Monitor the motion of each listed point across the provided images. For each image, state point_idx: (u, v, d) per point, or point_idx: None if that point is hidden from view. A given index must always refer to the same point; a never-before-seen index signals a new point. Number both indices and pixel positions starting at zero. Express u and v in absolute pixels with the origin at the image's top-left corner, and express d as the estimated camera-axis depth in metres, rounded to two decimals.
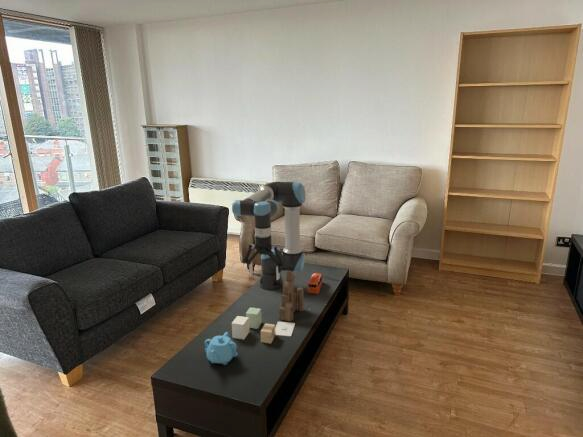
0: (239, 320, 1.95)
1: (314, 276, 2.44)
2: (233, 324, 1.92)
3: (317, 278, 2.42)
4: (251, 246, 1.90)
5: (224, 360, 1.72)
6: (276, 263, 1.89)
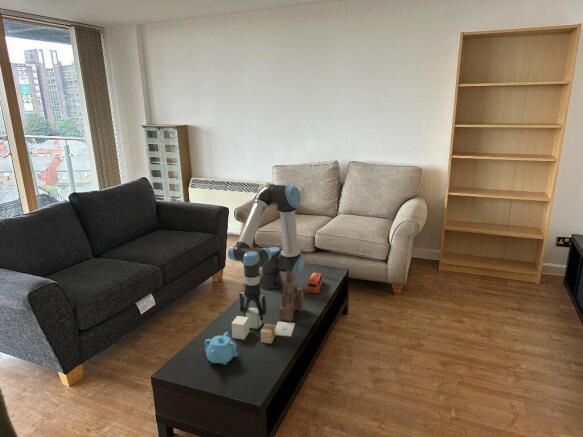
0: (239, 320, 1.95)
1: (314, 276, 2.45)
2: (233, 324, 1.92)
3: (317, 278, 2.42)
4: (241, 294, 2.01)
5: (224, 360, 1.72)
6: (259, 311, 2.01)
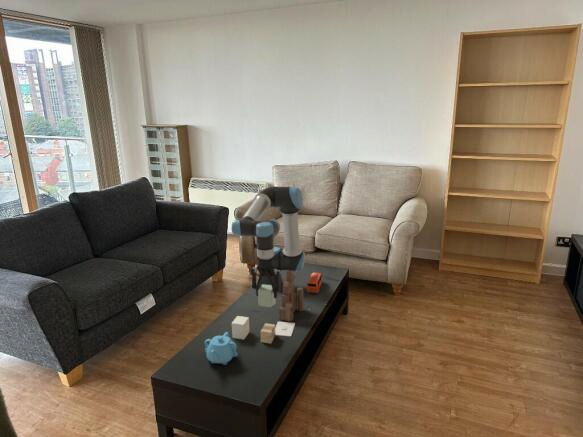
0: (239, 320, 1.95)
1: (313, 275, 2.45)
2: (233, 324, 1.92)
3: (316, 277, 2.42)
4: (253, 270, 1.84)
5: (224, 360, 1.72)
6: (273, 288, 1.84)
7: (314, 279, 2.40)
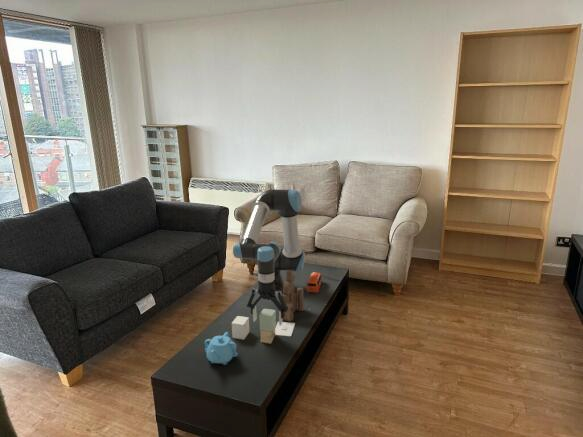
0: (239, 320, 1.95)
1: (313, 275, 2.46)
2: (233, 324, 1.92)
3: (316, 277, 2.43)
4: (254, 291, 1.87)
5: (224, 360, 1.72)
6: (279, 309, 1.86)
7: (314, 279, 2.40)
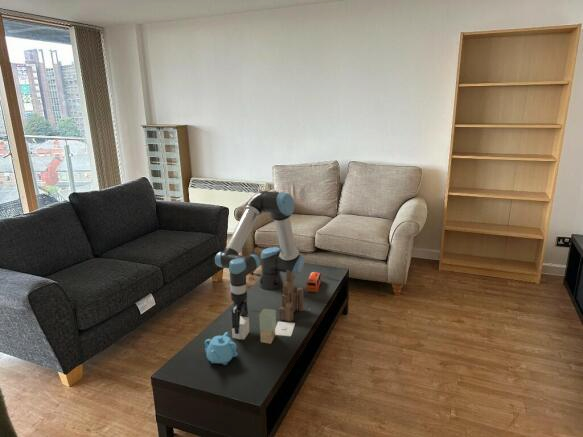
0: None
1: (313, 275, 2.46)
2: None
3: (316, 277, 2.44)
4: None
5: (224, 360, 1.72)
6: None
7: (313, 278, 2.41)
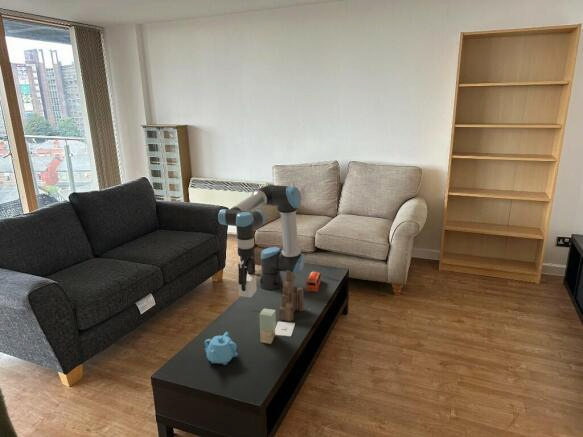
0: None
1: (312, 274, 2.47)
2: None
3: (316, 276, 2.44)
4: None
5: (224, 360, 1.72)
6: None
7: (313, 278, 2.41)
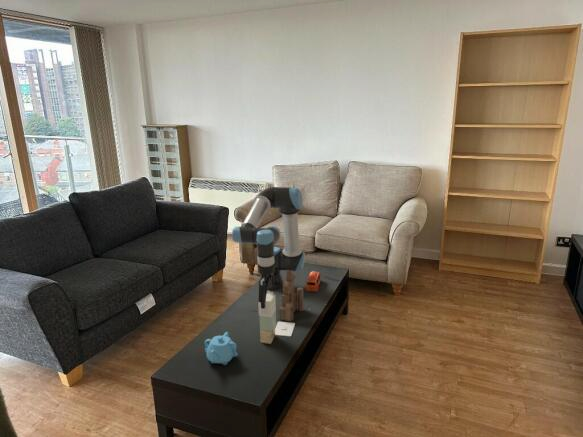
0: None
1: (312, 274, 2.47)
2: None
3: (315, 276, 2.44)
4: None
5: (224, 360, 1.72)
6: None
7: (313, 278, 2.42)
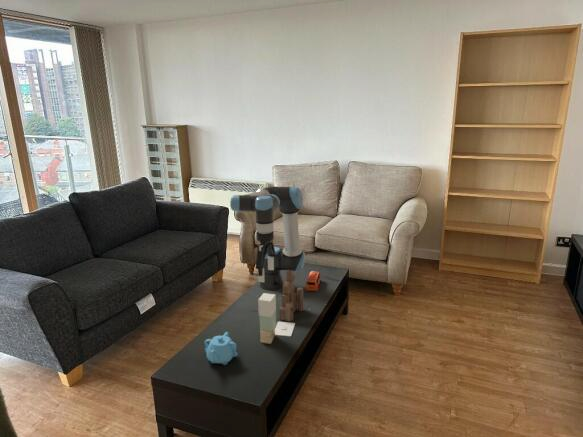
0: (265, 297, 1.87)
1: (312, 274, 2.47)
2: (260, 301, 1.85)
3: (315, 276, 2.45)
4: None
5: (224, 360, 1.72)
6: None
7: (313, 277, 2.42)
